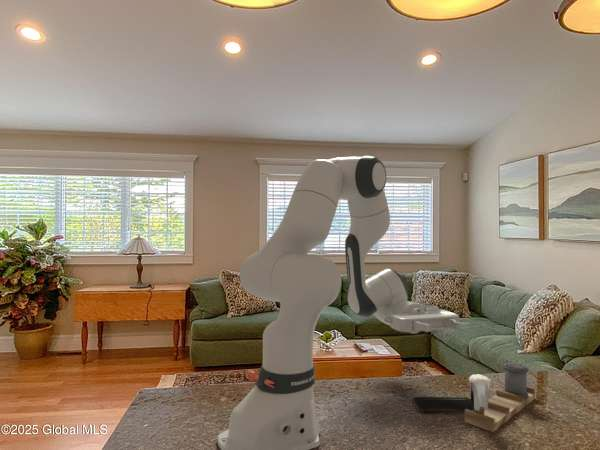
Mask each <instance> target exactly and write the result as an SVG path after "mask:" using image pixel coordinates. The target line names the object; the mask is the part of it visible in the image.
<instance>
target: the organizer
mask: <svg viewBox="0 0 600 450" xmlns="http://www.w3.org/2000/svg"><path fill="white" fill-rule="evenodd" d="M526 391H527V392H528V397H527V398H524V397H522V396H519V395H515V394H512V393H509V392H505V391H503V389H498V388H496V389H495V395H493V396H491V397H490V398H489V399H488V411H487V416H485V415H482V414H480V413H477V412H474V411H471V410H468V409H465V414H464V423H468V424H469V425H472V426H476V427H477V428H480V429H483V430H486V431H489V432H491V433H493V432H495V431H496V430H498V429H499V428H500V427H502V425H504V424H505V423H507V421H509V420H510V419H511V418H513V417H514V416H515V415H517V414H518V413H519V412H520V411H521V410H522V409H524V408H525V407H527V406H528V405H529V404H530V403H532V402H533V401H534V400H535V399H536V388H535V387H531V386H528V385H527V390H526Z"/></svg>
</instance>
